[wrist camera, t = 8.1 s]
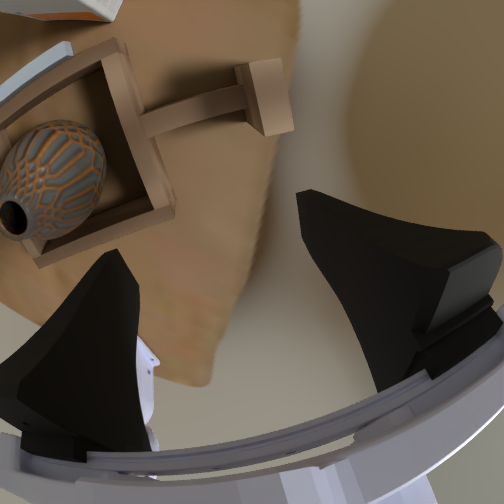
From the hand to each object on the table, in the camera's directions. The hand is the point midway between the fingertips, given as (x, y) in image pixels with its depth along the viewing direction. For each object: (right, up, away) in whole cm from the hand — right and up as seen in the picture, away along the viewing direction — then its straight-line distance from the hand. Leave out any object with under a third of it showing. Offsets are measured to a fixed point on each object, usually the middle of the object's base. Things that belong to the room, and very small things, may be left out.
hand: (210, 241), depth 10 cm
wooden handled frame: (-7, +8, +5) cm, 12 cm away
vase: (-11, +6, +5) cm, 14 cm away
